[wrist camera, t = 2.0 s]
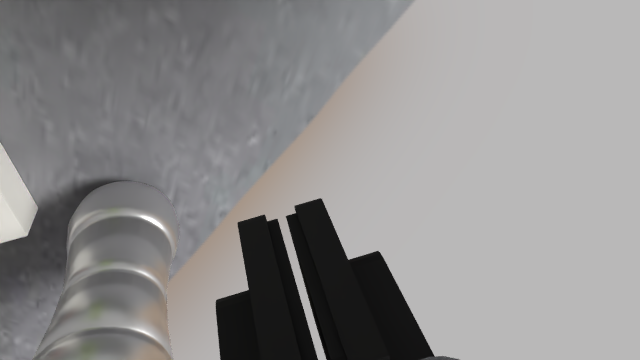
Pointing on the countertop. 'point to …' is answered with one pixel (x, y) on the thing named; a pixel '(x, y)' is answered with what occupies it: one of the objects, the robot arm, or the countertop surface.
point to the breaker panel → (14, 202)
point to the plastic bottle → (115, 278)
